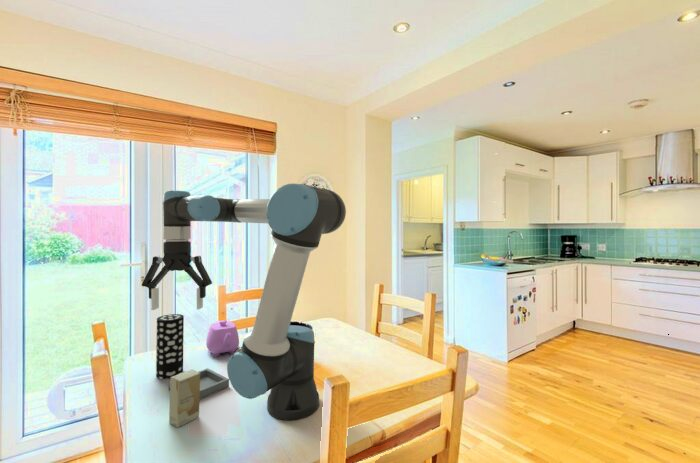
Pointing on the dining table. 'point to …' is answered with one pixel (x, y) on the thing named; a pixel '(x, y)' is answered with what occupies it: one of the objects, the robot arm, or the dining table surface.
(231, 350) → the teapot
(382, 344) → the dining table surface
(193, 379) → the skincare box
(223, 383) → the tray
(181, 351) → the white-spotted black cylinder
